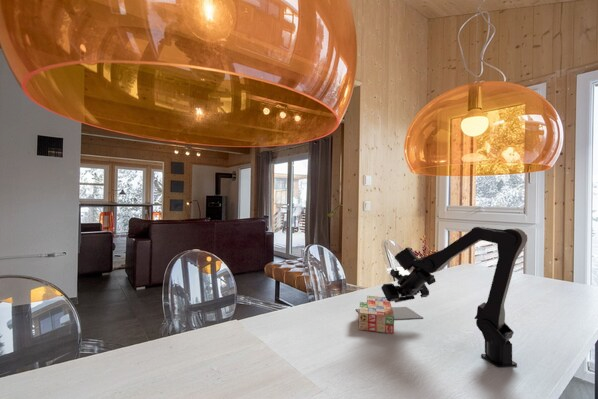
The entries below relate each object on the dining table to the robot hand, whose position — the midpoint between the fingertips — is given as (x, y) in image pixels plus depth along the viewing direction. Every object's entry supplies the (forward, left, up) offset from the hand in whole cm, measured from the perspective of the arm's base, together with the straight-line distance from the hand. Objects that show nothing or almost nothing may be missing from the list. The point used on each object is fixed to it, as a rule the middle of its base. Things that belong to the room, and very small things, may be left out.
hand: (395, 301), depth 116 cm
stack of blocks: (-2, +2, -4) cm, 5 cm away
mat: (+7, -1, -8) cm, 11 cm away
